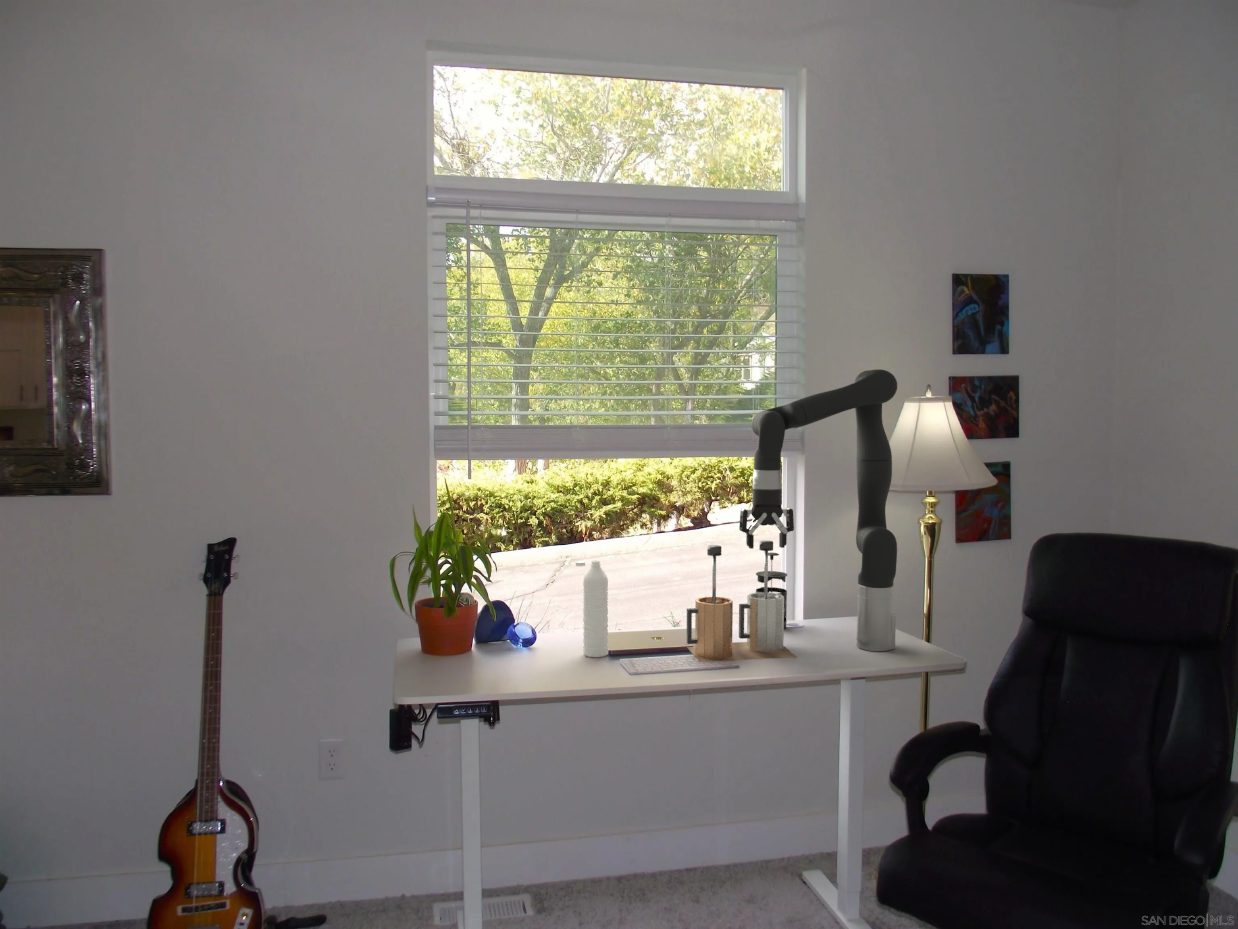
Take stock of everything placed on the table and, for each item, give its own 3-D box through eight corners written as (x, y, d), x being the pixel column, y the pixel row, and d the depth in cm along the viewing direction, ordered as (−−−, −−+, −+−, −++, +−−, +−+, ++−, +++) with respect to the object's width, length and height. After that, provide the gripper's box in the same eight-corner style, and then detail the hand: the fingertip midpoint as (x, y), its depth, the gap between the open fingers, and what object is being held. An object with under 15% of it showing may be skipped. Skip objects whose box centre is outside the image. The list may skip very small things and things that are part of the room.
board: (776, 644, 240) (776, 640, 239) (797, 661, 224) (797, 657, 224) (684, 649, 235) (684, 644, 235) (699, 666, 220) (699, 661, 220)
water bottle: (602, 649, 235) (602, 558, 233) (611, 656, 229) (611, 561, 227) (571, 653, 231) (571, 560, 230) (580, 659, 225) (580, 564, 224)
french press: (793, 634, 250) (794, 555, 249) (761, 636, 249) (762, 556, 247) (778, 624, 262) (779, 549, 260) (748, 626, 260) (749, 549, 259)
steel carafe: (776, 642, 237) (776, 591, 237) (787, 651, 228) (788, 599, 227) (734, 644, 236) (734, 593, 235) (744, 653, 226) (745, 600, 226)
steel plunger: (773, 598, 235) (774, 539, 234) (781, 604, 229) (782, 543, 228) (749, 599, 234) (750, 540, 233) (757, 605, 228) (758, 543, 227)
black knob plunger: (722, 604, 230) (723, 544, 229) (729, 610, 223) (730, 548, 222) (698, 605, 229) (698, 544, 228) (704, 611, 222) (705, 548, 221)
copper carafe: (725, 647, 232) (726, 596, 231) (736, 657, 223) (736, 603, 222) (682, 649, 230) (683, 597, 229) (691, 659, 221) (691, 605, 220)
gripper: (788, 485, 234) (787, 545, 235) (736, 486, 232) (736, 546, 233) (798, 487, 227) (797, 549, 228) (745, 488, 225) (744, 550, 226)
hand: (766, 547), depth 230 cm, fingers open, 8 cm apart
